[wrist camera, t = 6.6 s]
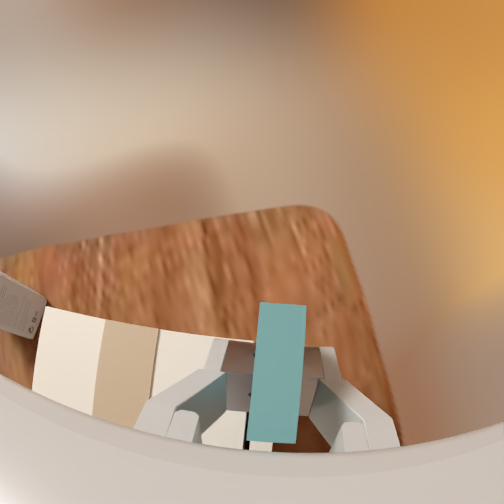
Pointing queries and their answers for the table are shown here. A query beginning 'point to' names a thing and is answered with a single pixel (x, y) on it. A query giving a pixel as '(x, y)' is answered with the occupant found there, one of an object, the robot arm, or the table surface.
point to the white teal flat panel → (277, 376)
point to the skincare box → (19, 307)
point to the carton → (122, 369)
